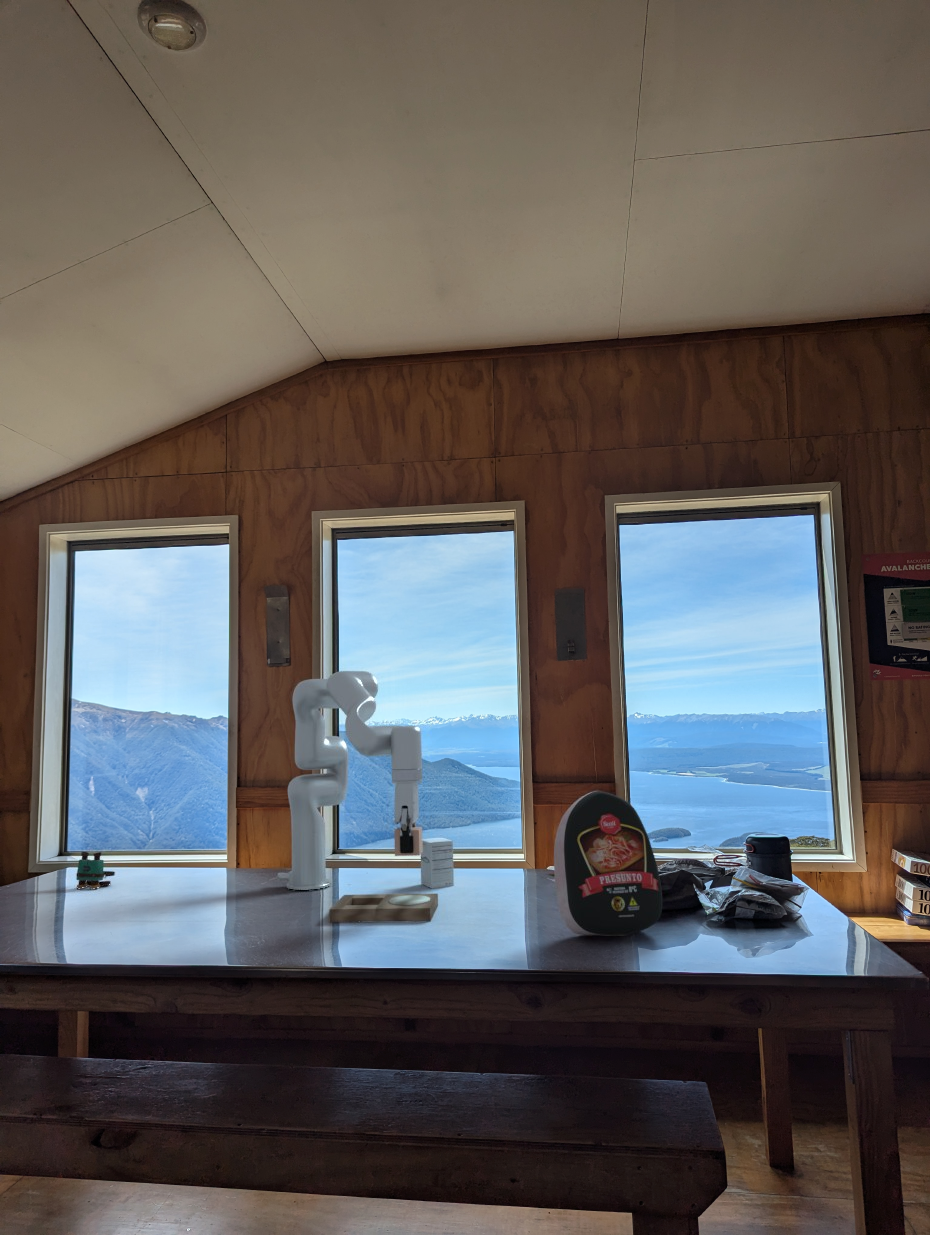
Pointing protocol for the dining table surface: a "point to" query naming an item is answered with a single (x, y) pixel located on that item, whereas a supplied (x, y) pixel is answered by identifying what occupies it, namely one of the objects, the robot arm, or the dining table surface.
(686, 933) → the dining table surface
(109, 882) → the green boxy piece
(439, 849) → the supplement box
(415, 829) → the block
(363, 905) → the hole platform
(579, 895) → the packaged food
